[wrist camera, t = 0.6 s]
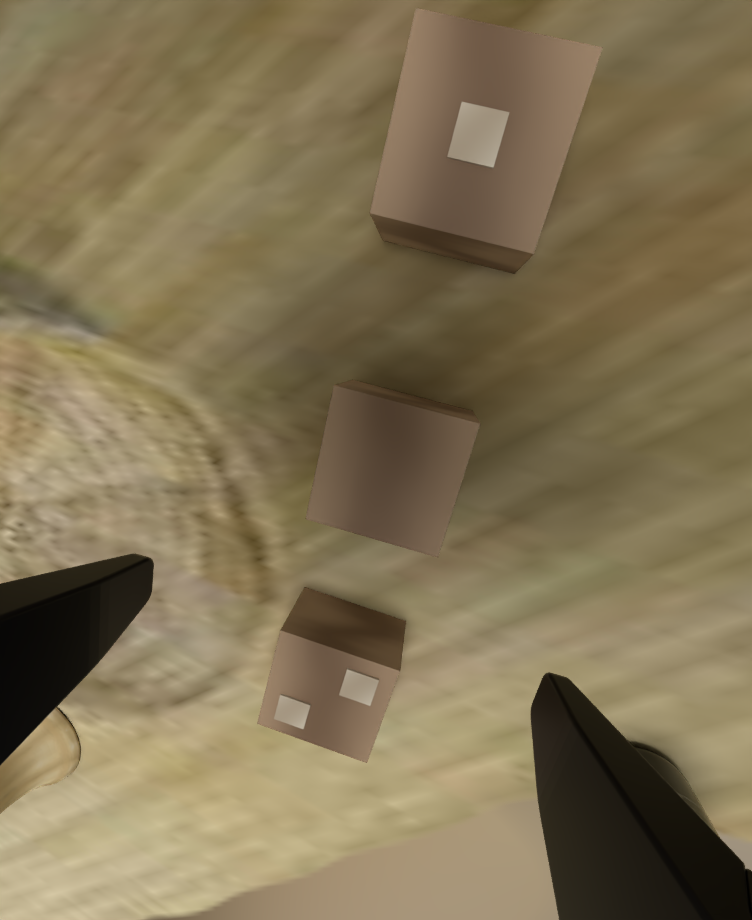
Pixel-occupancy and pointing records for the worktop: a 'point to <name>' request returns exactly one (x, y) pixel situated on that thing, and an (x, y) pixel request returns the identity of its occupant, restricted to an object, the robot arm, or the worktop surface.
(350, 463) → the plain walnut block
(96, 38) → the worktop surface
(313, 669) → the two-pip walnut block
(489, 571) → the worktop surface
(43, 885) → the worktop surface
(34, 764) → the hand bell
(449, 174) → the one-pip walnut block
